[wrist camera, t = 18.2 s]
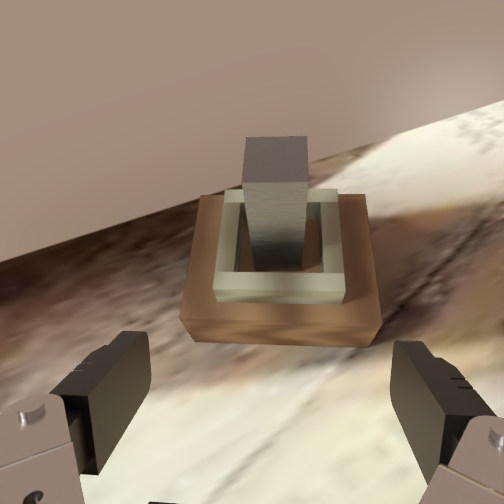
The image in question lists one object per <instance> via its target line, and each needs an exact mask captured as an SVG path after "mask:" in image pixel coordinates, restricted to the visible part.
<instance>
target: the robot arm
mask: <svg viewBox="0 0 504 504" xmlns="http://www.w3.org/2000/svg"><path fill="white" fill-rule="evenodd" d="M150 384H151V364H150V352H149V340H148V335H147V333H146V332H140V331H122V332H121V333H120V334H119V335H118V336H117V337H116V338H115V339H114V340H113V341H112V342H111V343H110V344H109V345H104V346H103V347H101V348H99V349H97V350H95V351H93V352H92V353H90V354H89V355H88V356H87V357H86V358H85V359H84V360H83V361H82V363H81V364H79V365H78V366H77V367H76V368H75V369H74V371H73V372H71V373H70V374H69V375H68V376H67V377H65V378H64V379H63V380H62V381H61V382H60V383H59V384H58V385H57V386H56V387H55V388H54V389H53V390H52V391H51V392H50V393H49V394H40V395H35V396H31V397H28V398H25V399H22V400H20V401H18V402H16V403H14V404H13V405H11V406H10V407H8V408H7V409H6V410H5V411H3V412H2V414H1V415H0V504H85V503H84V498H83V493H82V488H81V483H80V478H79V476H80V474H88V475H99V473H100V472H101V470H102V468H103V467H104V465H105V463H106V462H107V460H108V458H109V457H110V455H111V453H112V452H113V450H114V448H115V447H116V445H117V444H118V442H119V440H120V439H121V437H122V435H123V434H124V432H125V430H126V429H127V427H128V425H129V424H130V422H131V420H132V419H133V417H134V415H135V414H136V412H137V410H138V409H139V407H140V405H141V404H142V402H143V400H144V399H145V397H146V395H147V394H148V391H149V388H150ZM390 396H391V402H392V405H393V408H394V410H395V412H396V415H397V417H398V419H399V421H400V424H401V426H402V428H403V431H404V433H405V435H406V437H407V440H408V442H409V444H410V446H411V449H412V451H413V453H414V455H415V458H416V460H417V462H418V465H419V467H420V469H421V471H422V474H423V476H424V478H425V480H426V483H427V485H428V487H427V489H426V491H425V493H424V495H423V497H422V499H421V500H420V502H419V504H504V418H500V417H497V416H496V415H495V413H494V412H493V411H492V410H491V409H490V407H489V406H488V405H487V404H486V403H485V401H484V400H483V399H482V398H481V397H480V395H479V394H478V393H477V392H476V391H475V390H473V387H472V386H471V385H470V383H469V382H468V381H467V380H465V377H464V376H463V375H462V374H461V373H460V371H459V370H458V369H457V368H456V367H455V366H453V365H452V364H450V363H448V362H447V361H445V360H444V359H442V358H434V356H433V355H432V354H431V352H430V351H429V350H428V348H427V347H426V346H425V344H424V343H423V342H422V341H403V340H396V341H395V343H394V347H393V357H392V368H391V379H390ZM148 504H175V503H162V502H149V503H148Z"/></svg>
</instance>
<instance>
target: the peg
mask: <svg viewBox="0 0 504 504" xmlns="http://www.w3.org/2000/svg"><path fill="white" fill-rule="evenodd" d="M307 150H308V149H307V136H290V137H247V138H246V145H245V155H244V164H243V174H242V188H243V195H244V202H245V208H246V215H247V222H248V228H249V235H250V241H251V248H252V255H253V261H254V268H255V271H302V262H303V248H304V235H305V222H306V208H307V195H308V151H307Z"/></svg>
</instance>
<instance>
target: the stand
mask: <svg viewBox="0 0 504 504" xmlns="http://www.w3.org/2000/svg"><path fill="white" fill-rule="evenodd" d="M179 319H180V320H181V322H182V323H183V325H184V326H185V328H186V329H187V331H188V332H189V334H190V335H191V337H192V338H193V340H194V341H195V342H210V343H240V344H270V345H300V346H330V347H360V348H368V347H369V345H370V343H371V342H372V340H373V338H374V337H375V335H376V334H377V332H378V330H379V329H380V327H381V325H382V317H381V309H380V302H379V294H378V287H377V280H376V272H375V265H374V257H373V250H372V242H371V235H370V228H369V220H368V213H367V205H366V198H365V194H337V189H308V195H307V208H306V222H305V235H304V248H303V262H302V271H255V268H254V261H253V255H252V248H251V241H250V235H249V228H248V222H247V215H246V208H245V202H244V195H243V190H225V195H201V196H200V202H199V208H198V213H197V219H196V225H195V231H194V236H193V242H192V248H191V254H190V260H189V265H188V271H187V277H186V283H185V288H184V294H183V300H182V306H181V312H180V317H179Z"/></svg>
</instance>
